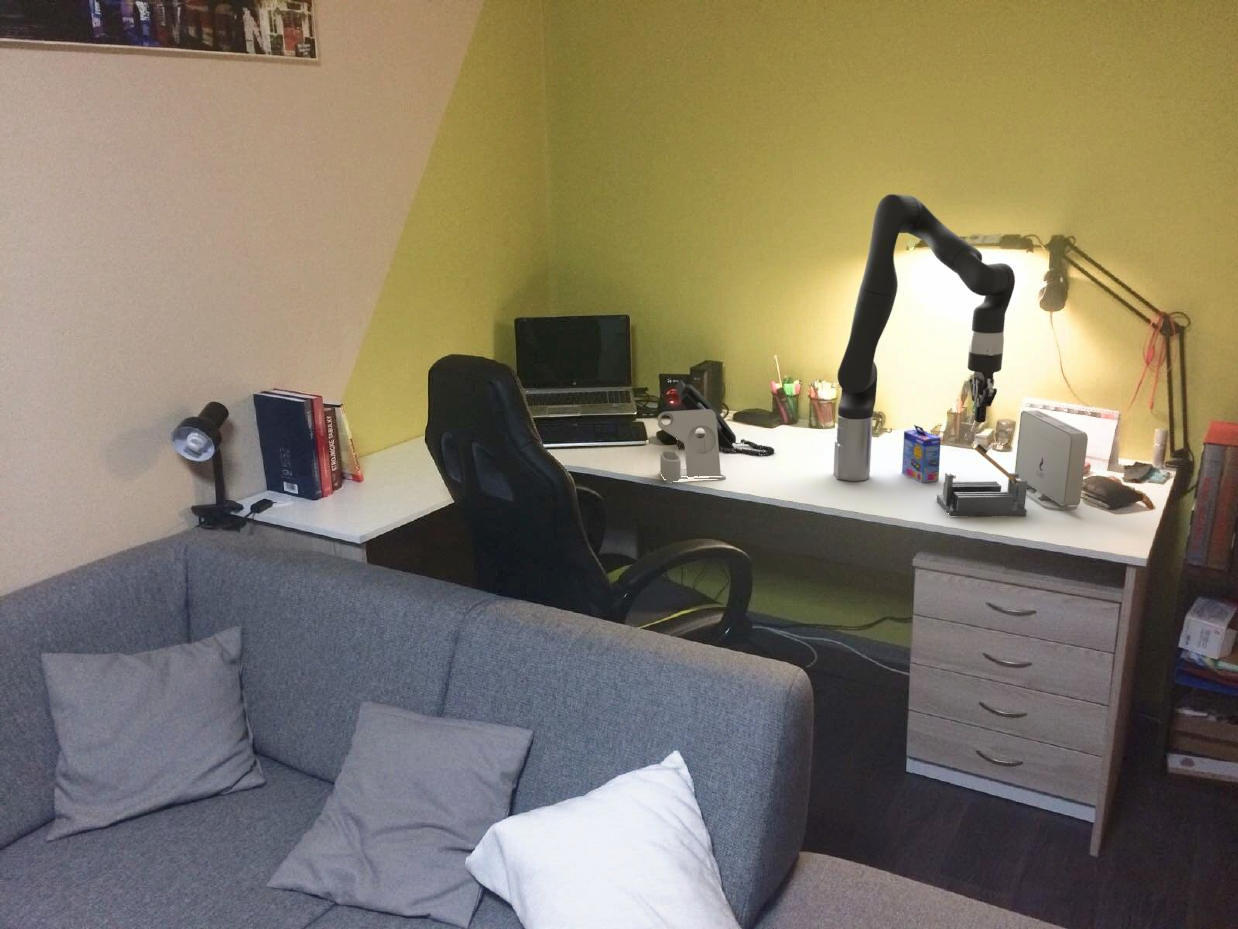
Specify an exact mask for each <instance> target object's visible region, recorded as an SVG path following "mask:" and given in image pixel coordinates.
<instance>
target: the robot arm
mask: <svg viewBox="0 0 1238 929" xmlns="http://www.w3.org/2000/svg"><path fill="white" fill-rule="evenodd" d="M874 213H875V214H874V218H873V222H872V223H873V224H872V230H871V237H870V244H869V249H868V250H869V251H868V255H867V259H866V262H865V269H864V273H863V276H862V281H861V283H860V286H859V287H860V288H859V291H858V295H857V297H856V298H857V299H856V303H855V307H854V312H853V318H852V322H851V323H852V324H851V329H850V334H849V340H848V343H847V345H846V348H845V351H844V353H843V356H842V358H841V359H842V360H841V362H840V365H839V367H838V369H837V374H836V376H837V382H838V386H839V387H840V388H841V395H840V400H839V403H838V407H837V427H836V439H835V440H834V455H833V456H834V457H833V474H834V476H835V477H836V480H843V481H851V482H860V481H866V480H868V479H869V478H870V474H871V459H872V458H871V457H872V454H871V453H872V439H873V421H874V409H875V405H876V400H877V386H878V368H877V364H876V362H875V355H876V350H877V347H878V345H879V344H878V343H879V341H880V339H881V337H882V335H883V333H884V331H885V328H886V326H887V324H888V321H889V319H890V317H891V314H892V312H893V307H894V305H895V300H896V296H897V293H898V276H897V271H896V267H895V266H896V265H895V257H894V255H895V250H896V244H897V241H898V237H899V234H909V235H911V236H914V237H916V238H917V239H919V240H921V241H923V242H924V243H925V244H926V245H927V246H928V247H929V248H930V250H931V251H932V253H933V254H934V256H935V257H936V258H937V260H939V261H940V263H942V264H943V265H944V266H946V267H947V268H948V269H949V270H951V271H953V273H955V274H956V275H958V277H959V278H960V280H961V281H962V282H963V284H964V285H965V286H966V287H967V288H968V289H969V290H970V291H971V292H973V294H976V295H978V296H981V297H984V300H983V301H982V303H981V304H980V305H977V306H976V307H975V308H974V310H973V313H972V323H971V334H970V338H969V345H968V358H967V369H968V370H969V371H970V372H974V373H973V376H972V378H969V380H968V382H969V387H970V388H969V389H970V393H971V394H970V396H971V401H972V402H973V404H974V406H975V407H974V416H973V417H974V418H973V420H974V421H975V422H976V423H985V422H986V417H987V409H988V407H991V405H992V404H993V401H994V400H995V397H996V395H997V392H998V391H997V388H996V387H994V386H995V379H994V374H995V373H998V372H1000V371H1001V370H1002V365H1003V354H1004V342H1005V339H1004V335H1005V334H1004V333H1005V332H1004V331H1005V321H1006V312H1007V309H1008V307H1009V305H1010V303H1011V299H1012V296H1013V293H1014V290H1015V284H1016V277H1015V272H1014V270H1013V268H1012V266H1010V265H1008V264H1006V263H1004V262H1002V263H1001V262H999V263H991V264H989V263H988V264H986V263H985V262H983V255H982V253H981V251H979V249H977V247H975V246H973V244H970V242H967V241H966V240H964V238H962V237H961V236H958V235H957V234H956V233H955V232H954V231H952V230H951V229H949V227H947V226H946V225H945V224H944V223H943V222H941V220H940V219H939V218H937V217H936V216H935V215H934V214H933V213H932V212H931V211H930V210H929V208H928V207H927V206H926V205H925V204H924V203H923V202H922V201H921V200H920V199H918V198H917V197H915V196H913V195H907V194H898V193H897V194H896V193H890V194H886V195H885V196H884V197H882V198H881V199H880V201H879V203H878V204H877V207H876V210H875V212H874Z"/></svg>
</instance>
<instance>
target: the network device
mask: <svg viewBox="0 0 1238 929" xmlns="http://www.w3.org/2000/svg"><path fill="white" fill-rule="evenodd" d="M1088 441H1089V438H1088V434H1087V433H1086V431H1083V430H1081V429H1078V428H1077V427H1074V426H1072V425H1070V424H1068V423H1066V422H1064V421H1062V420H1060V419H1057V418H1055V417H1053V416H1052V415H1050V414H1047V413H1045V412H1043V411H1041V410H1038V409H1033V410H1022V411H1021V413H1020V417H1019V429H1018V438H1017V445H1016V446H1017V448H1016V457H1015V467H1014V473H1018V474H1019V477H1018V479H1019V480H1026V481H1028V482H1027V487H1028V488H1033V489H1035V490H1036V491H1035V492H1034V493H1030V492H1028V491H1026V496H1027V497H1026V498H1028V497H1029V498H1028V499H1029V500H1030V501H1033V502H1034V503H1036V504H1037V505H1039V506H1040V507H1042V508H1044V509H1047V510H1053V511H1062V510H1075V509H1077V508H1078V506H1079V505H1080V503H1081V498H1082V497H1081V496H1082V489H1083V483H1084V481H1083V480H1084V473H1085V465H1086V459H1087V458H1086V456H1087V450H1088ZM1042 500H1052V501H1054V502H1055V503H1057V504H1059V505H1049V504H1047V503H1045V502H1043V501H1042Z"/></svg>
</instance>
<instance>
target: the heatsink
mask: <svg viewBox="0 0 1238 929" xmlns="http://www.w3.org/2000/svg"><path fill="white" fill-rule="evenodd" d="M1008 473H1009V474H1010V475H1012V476H1013V477H1017V478H1018V477H1019V474H1018V473H1015V472H1008ZM956 477H957V475H956V473H955V472H952V471H951V472H945V474H944V482H943V488H942V489H943V491H942V494H936V500H937V501H936V502H937V503H938V504H939V506H940V505H941V506H940V507H941V508H942V507H943V508H944V509H943V508H942V509H943V510H944V511H945V510H946V511H945V513H946V514H947V513H949V515H950V516H968V517H967V518H976V517H977V518H981V517H983V518H986V517H987V518H991V517H992V516H993V518H995V517H994V516H998V517H997V518H999V516H1007V517H1009V516H1011V517H1027V512H1028V510H1027V509H1026V500H1027V499H1026V498H1027V497H1026V492H1028V490H1027V489H1028V488H1027V482H1028V481H1026V480H1020V479H1019V478H1018V479H1019V480H1018V481H1017V487H1016V486H1015V485H1014V484H1012V483H1011V480H1010V479H1009V478H1008V479H1007V480H1008V481H1007V491H1002V485H1001V484H1000V483H998V482H997V481H954V479H956ZM949 515H948V516H949ZM950 516H949V517H950ZM970 516H972V517H970ZM974 516H975V517H974ZM1007 517H1006V518H1007ZM1009 518H1010V517H1009Z"/></svg>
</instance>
